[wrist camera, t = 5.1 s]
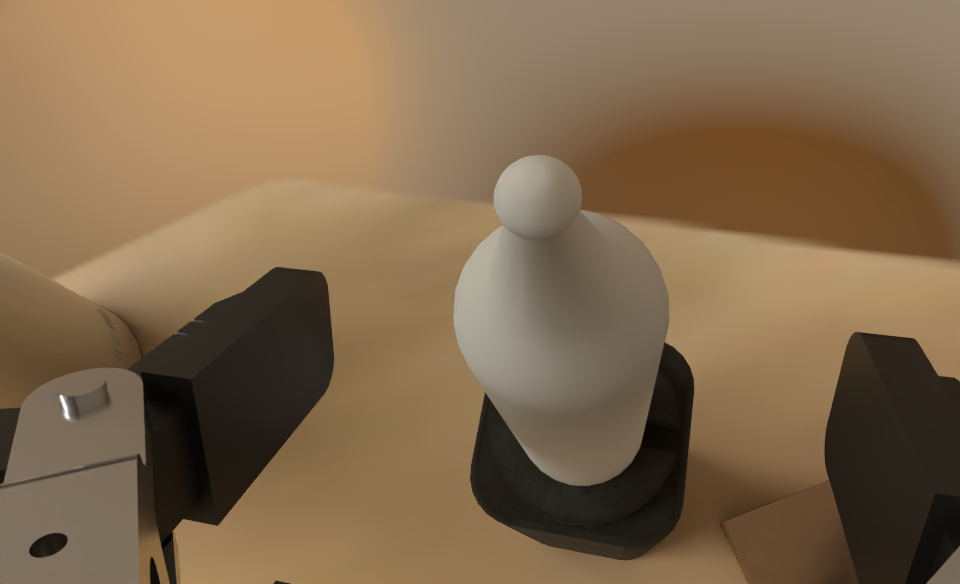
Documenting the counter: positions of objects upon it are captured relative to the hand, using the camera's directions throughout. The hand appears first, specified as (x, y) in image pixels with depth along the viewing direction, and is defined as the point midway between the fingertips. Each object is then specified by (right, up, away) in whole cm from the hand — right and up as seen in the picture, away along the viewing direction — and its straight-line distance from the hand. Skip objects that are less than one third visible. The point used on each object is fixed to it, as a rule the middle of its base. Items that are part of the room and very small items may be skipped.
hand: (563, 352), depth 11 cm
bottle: (+3, -7, +18) cm, 20 cm away
